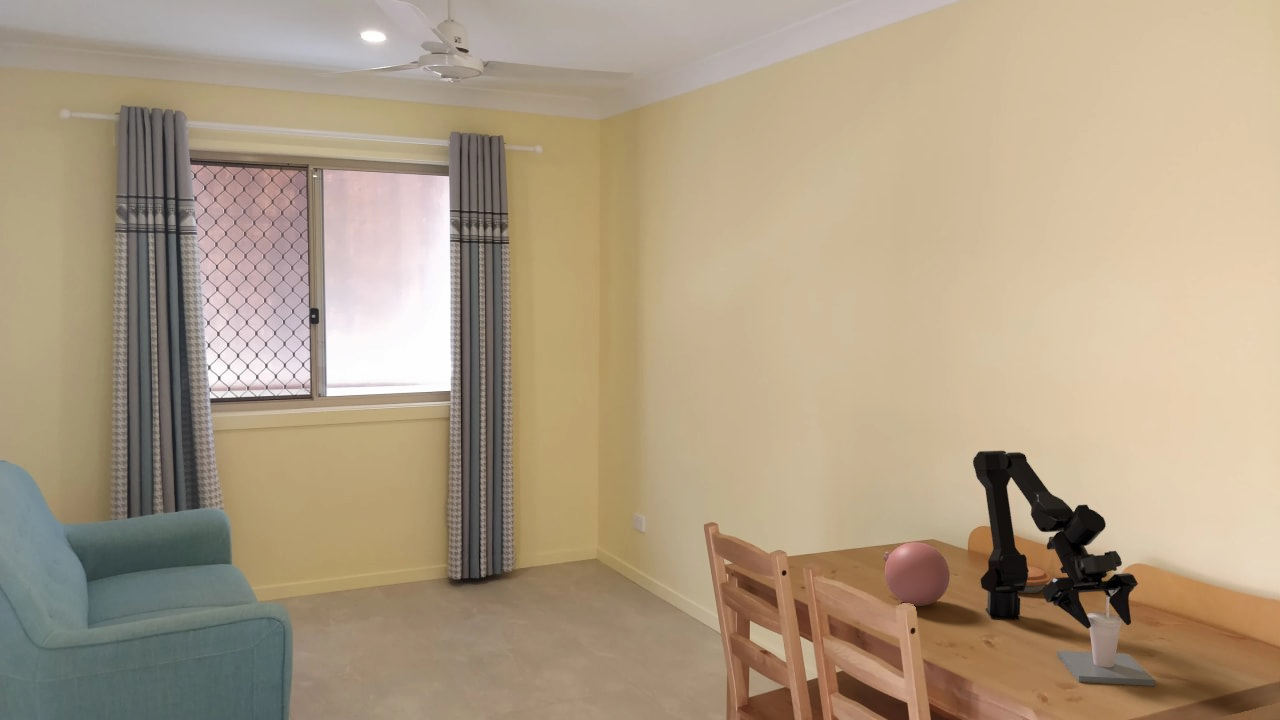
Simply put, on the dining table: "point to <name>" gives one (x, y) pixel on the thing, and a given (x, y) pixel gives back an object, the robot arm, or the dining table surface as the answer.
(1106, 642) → the smoothie
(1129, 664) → the slate trivet
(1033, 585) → the pie
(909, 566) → the balloon
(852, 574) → the dining table surface
